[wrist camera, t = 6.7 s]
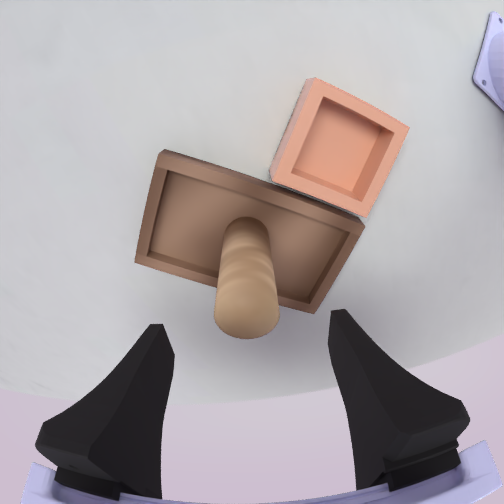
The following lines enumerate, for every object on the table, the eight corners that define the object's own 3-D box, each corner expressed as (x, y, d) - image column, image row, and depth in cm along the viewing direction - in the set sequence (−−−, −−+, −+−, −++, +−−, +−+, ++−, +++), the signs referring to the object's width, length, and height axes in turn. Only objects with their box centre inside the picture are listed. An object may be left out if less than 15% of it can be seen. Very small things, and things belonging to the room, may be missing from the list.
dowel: (274, 223, 20) (289, 298, 13) (260, 260, 22) (267, 343, 15) (230, 211, 20) (222, 283, 13) (219, 250, 21) (207, 331, 14)
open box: (392, 122, 17) (409, 127, 15) (354, 203, 20) (366, 218, 18) (306, 79, 16) (315, 77, 14) (269, 170, 19) (272, 180, 17)
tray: (358, 217, 21) (365, 226, 19) (310, 302, 24) (314, 314, 23) (164, 149, 18) (158, 153, 17) (140, 252, 22) (134, 262, 20)
